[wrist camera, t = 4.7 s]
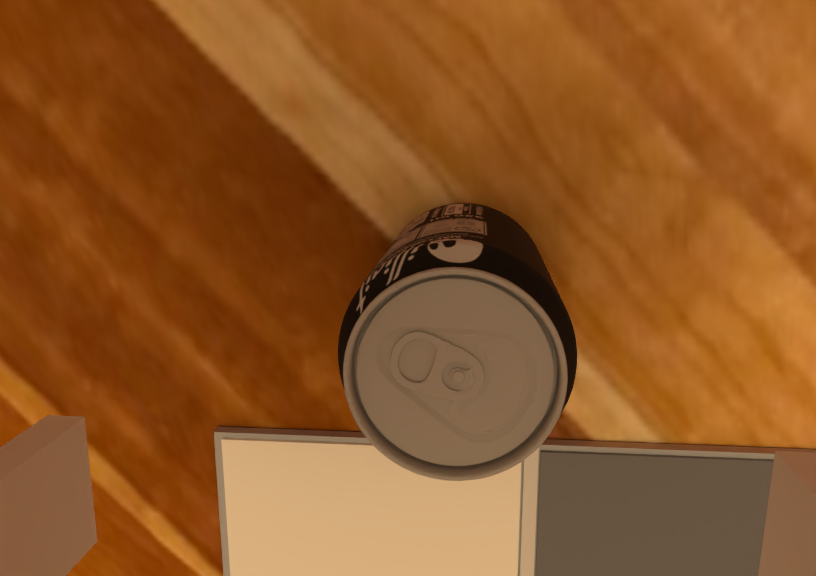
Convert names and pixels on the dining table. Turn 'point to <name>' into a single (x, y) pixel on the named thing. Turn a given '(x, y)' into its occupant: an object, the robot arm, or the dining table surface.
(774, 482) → the robot arm
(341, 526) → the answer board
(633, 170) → the dining table surface
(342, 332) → the beverage can
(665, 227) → the dining table surface
